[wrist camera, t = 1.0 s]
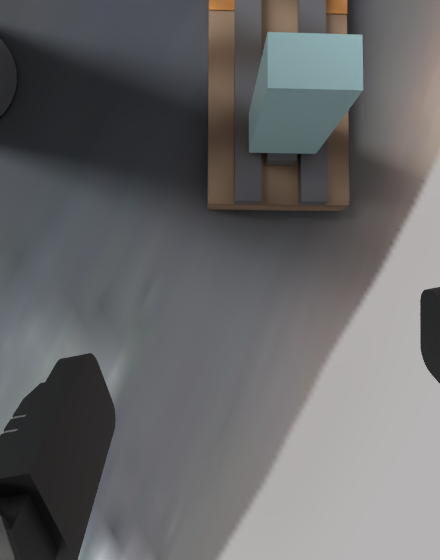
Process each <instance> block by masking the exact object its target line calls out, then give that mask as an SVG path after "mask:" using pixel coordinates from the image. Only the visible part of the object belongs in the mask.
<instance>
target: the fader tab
mask: <svg viewBox="0 0 440 560" xmlns="http://www.w3.org/2000/svg"><path fill="white" fill-rule="evenodd" d="M362 91H363V41H362V35H355V34H321V33H286V32H267V37H266V41H265V45H264V50H263V54H262V58H261V63H260V67H259V71H258V76H257V80H256V84H255V89H254V93H253V97H252V102H251V106H250V110H249V153H265V165H288V166H294V164H295V163H296V161H297V154H316V153H317V152H318V150H319V149H320V148H321V146H322V145H323V144H324V142H325V141H326V140H327V138H328V137H329V136H330V134H331V133H332V132H333V130H334V129H335V127H336V126H337V125H338V123H339V122H340V121H341V119H342V118H343V117H344V115H345V114H346V113H347V111H348V110H349V109H350V107H351V106H352V105H353V103H354V102H355V101H356V99H357V98H358V97H359V95H360V94H361V93H362Z"/></svg>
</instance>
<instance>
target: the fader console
mask: <svg viewBox="0 0 440 560" xmlns="http://www.w3.org/2000/svg"><path fill="white" fill-rule="evenodd" d="M267 32H286V33H321V34H347V0H209V68H208V210H285V211H342V210H343V209H345V208H346V207H348V206H349V205H350V202H349V128H348V111H347V113H346V114H345V115H344V117H343V118H342V119H341V121H340V122H339V123H338V125H337V126H336V127H335V129H334V130H333V132H332V133H331V134H330V136H329V137H328V138H327V140H326V141H325V142H324V144H323V145H322V146H321V148H320V149H319V150H318V152H317V153H316V154H297V161H296V163H295V164H294V166H288V165H265V153H249V110H250V106H251V102H252V97H253V93H254V89H255V84H256V80H257V76H258V71H259V67H260V63H261V58H262V54H263V50H264V45H265V41H266V37H267Z"/></svg>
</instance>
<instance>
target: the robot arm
mask: <svg viewBox="0 0 440 560" xmlns="http://www.w3.org/2000/svg"><path fill="white" fill-rule="evenodd" d="M16 85H17V70H16V66H15V62H14V59H13V57H12V55H11V53H10V51H9V49H8V48H7V46H6V45H5V44H4V42H3V41H2V40H1V39H0V116H2V115H3V114H4V112H5V111H6V109H7V108H8V107H9V105H10V104H11V101H12V99H13V96H14V94H15V90H16ZM421 352H422V356H423V360H424V362H425V365H426V367H427V368H428V370H429V371H430V373H431V374H432V375H433V376H434V377H435V379H436V380H437V381H438V382H439V383H440V287H438V288H432V289H428V290H424V291H423V293H422V295H421ZM114 429H115V409H114V405H113V402H112V399H111V396H110V394H109V391H108V388H107V386H106V383H105V380H104V378H103V375H102V372H101V370H100V367H99V364H98V362H97V360H96V358H95V356H94V355H93V354H91V353H89V354H84V355H79V356H73V357H68V358H63V359H60V360H58V362H57V363H56V365H55V367H54V368H53V370H52V372H51V373H50V375H49V377H48V378H47V380H46V382H45V383H40V384H39V385H38V386H37V387H36V388H35V389H34V390H33V391H32V392H31V393H29V394H28V395H27V396H26V397H25V398H24V399H23V400H22V402H21V404H20V405H19V407H18V408H17V410H16V412H15V413H14V415H13V419H10V421H9V423H8V424H7V426H6V427H5V429H4V434H1V435H0V560H78V556H79V553H80V549H81V546H82V542H83V538H84V535H85V531H86V528H87V524H88V521H89V517H90V514H91V510H92V507H93V503H94V500H95V496H96V493H97V489H98V485H99V482H100V478H101V475H102V471H103V468H104V464H105V461H106V457H107V454H108V450H109V447H110V443H111V440H112V436H113V433H114Z"/></svg>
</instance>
